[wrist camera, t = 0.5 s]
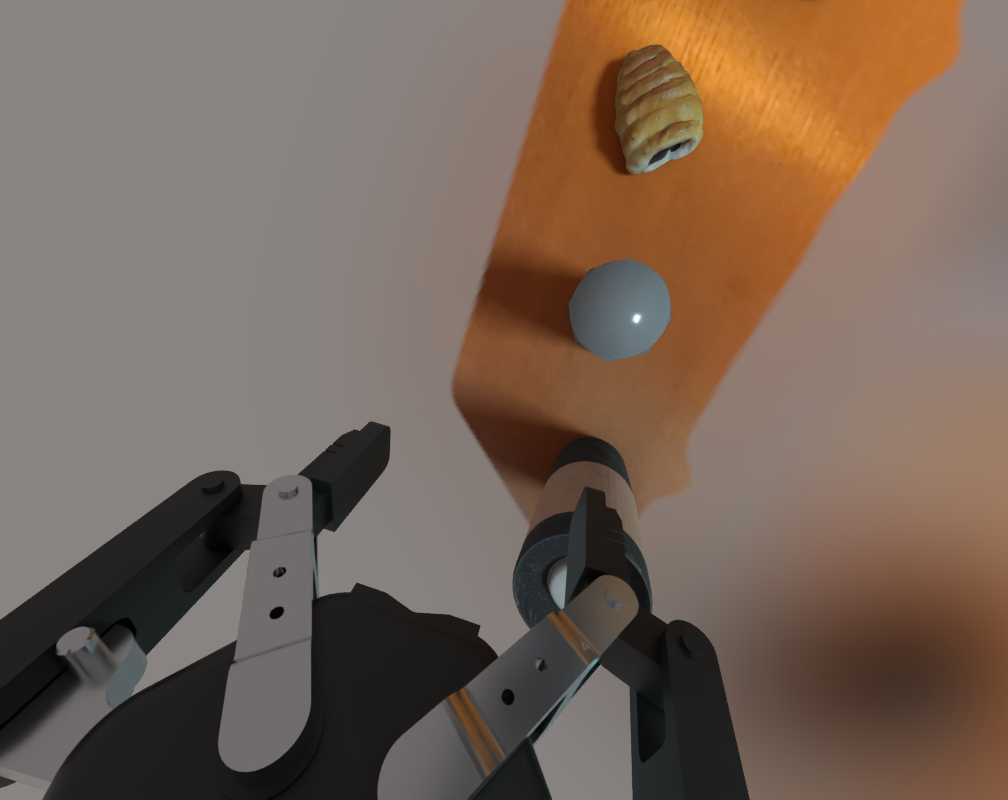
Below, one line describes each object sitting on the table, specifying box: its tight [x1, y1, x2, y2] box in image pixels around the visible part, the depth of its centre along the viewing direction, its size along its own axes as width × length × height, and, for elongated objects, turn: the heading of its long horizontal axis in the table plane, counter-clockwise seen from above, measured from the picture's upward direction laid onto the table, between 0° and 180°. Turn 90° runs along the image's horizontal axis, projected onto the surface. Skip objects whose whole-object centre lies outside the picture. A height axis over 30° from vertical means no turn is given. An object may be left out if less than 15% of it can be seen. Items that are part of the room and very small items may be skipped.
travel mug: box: [513, 438, 652, 629], centre depth 29 cm, size 8×8×20 cm
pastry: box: [615, 45, 704, 174], centre depth 30 cm, size 9×7×4 cm
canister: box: [568, 258, 671, 361], centre depth 29 cm, size 6×6×12 cm
